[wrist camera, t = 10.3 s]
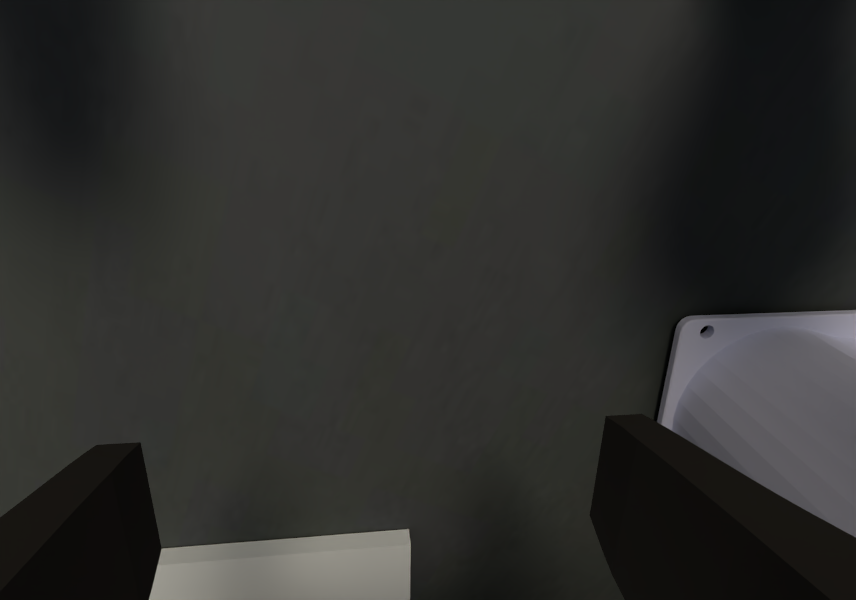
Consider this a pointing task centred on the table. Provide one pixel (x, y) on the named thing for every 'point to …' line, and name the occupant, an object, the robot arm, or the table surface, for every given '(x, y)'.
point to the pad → (289, 569)
